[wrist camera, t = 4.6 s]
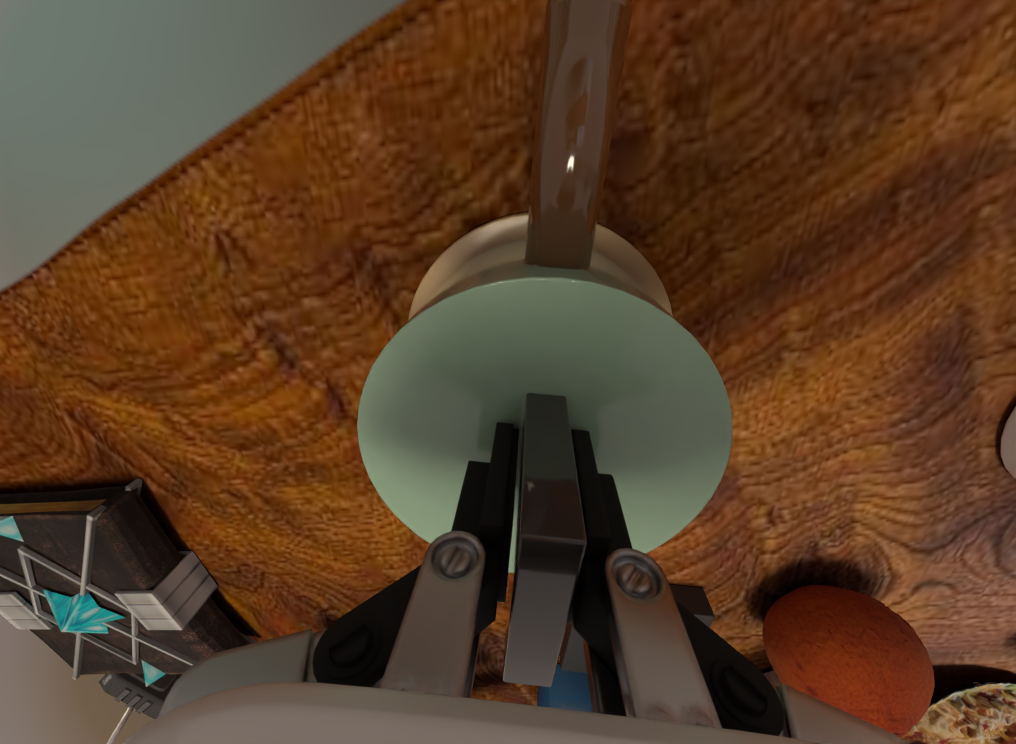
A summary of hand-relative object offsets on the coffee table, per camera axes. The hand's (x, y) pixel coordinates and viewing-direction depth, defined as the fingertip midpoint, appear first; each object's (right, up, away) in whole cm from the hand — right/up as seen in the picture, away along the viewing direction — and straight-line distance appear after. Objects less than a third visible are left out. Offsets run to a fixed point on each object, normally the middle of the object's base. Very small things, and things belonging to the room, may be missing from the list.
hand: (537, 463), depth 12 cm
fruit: (+22, -15, +16) cm, 31 cm away
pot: (+1, +7, +6) cm, 9 cm away
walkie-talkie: (-35, -35, +28) cm, 57 cm away
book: (-35, -15, +21) cm, 44 cm away
